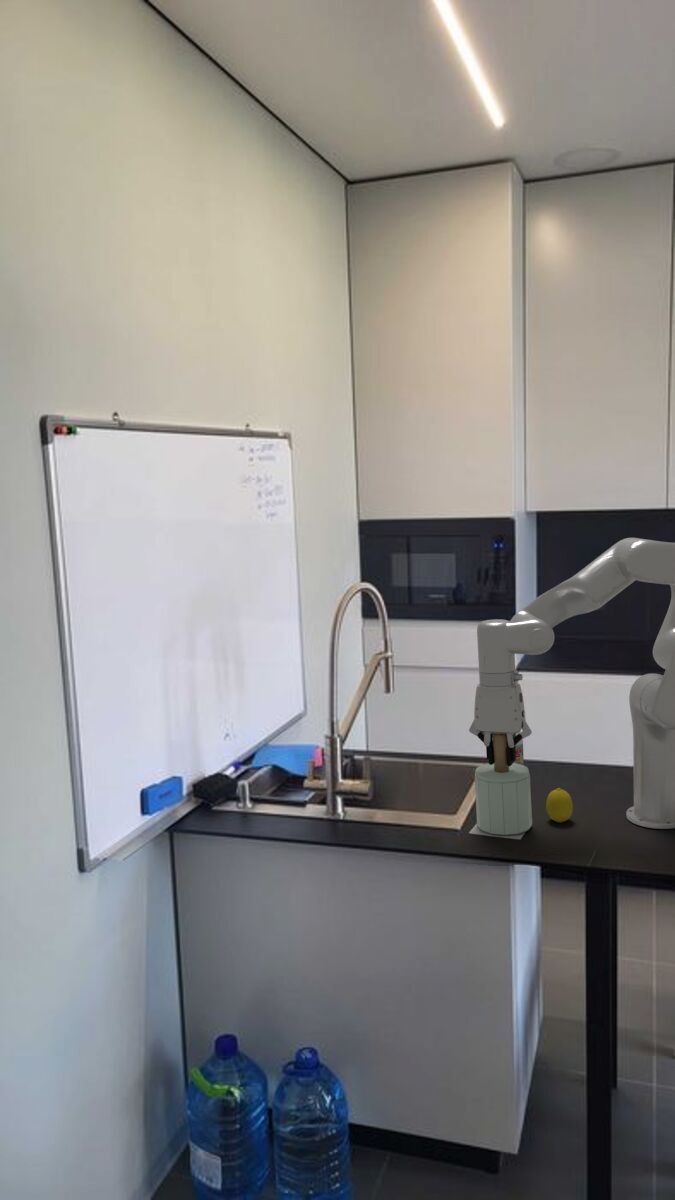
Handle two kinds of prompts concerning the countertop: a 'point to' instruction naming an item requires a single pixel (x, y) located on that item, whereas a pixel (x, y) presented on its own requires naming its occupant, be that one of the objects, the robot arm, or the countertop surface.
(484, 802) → the cylinder with wooden dowel
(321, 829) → the countertop surface
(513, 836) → the mat
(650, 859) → the countertop surface
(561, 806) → the lemon
